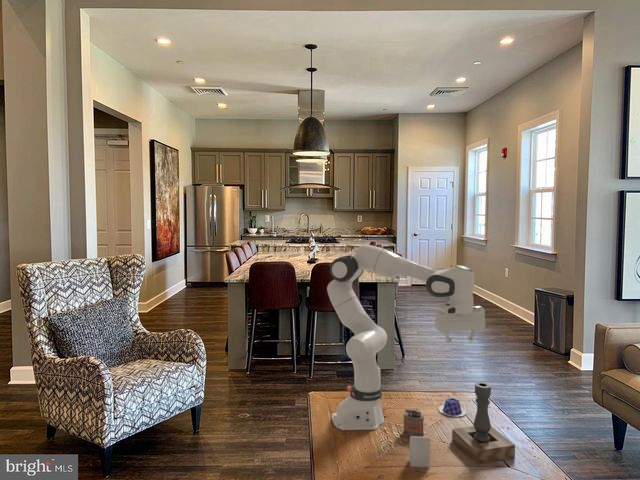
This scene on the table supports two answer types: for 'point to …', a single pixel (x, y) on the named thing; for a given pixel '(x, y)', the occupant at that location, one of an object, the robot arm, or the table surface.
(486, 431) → the candle holder
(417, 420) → the lighter
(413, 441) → the tea bag
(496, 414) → the table surface
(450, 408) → the pudding
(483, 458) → the walnut collar
